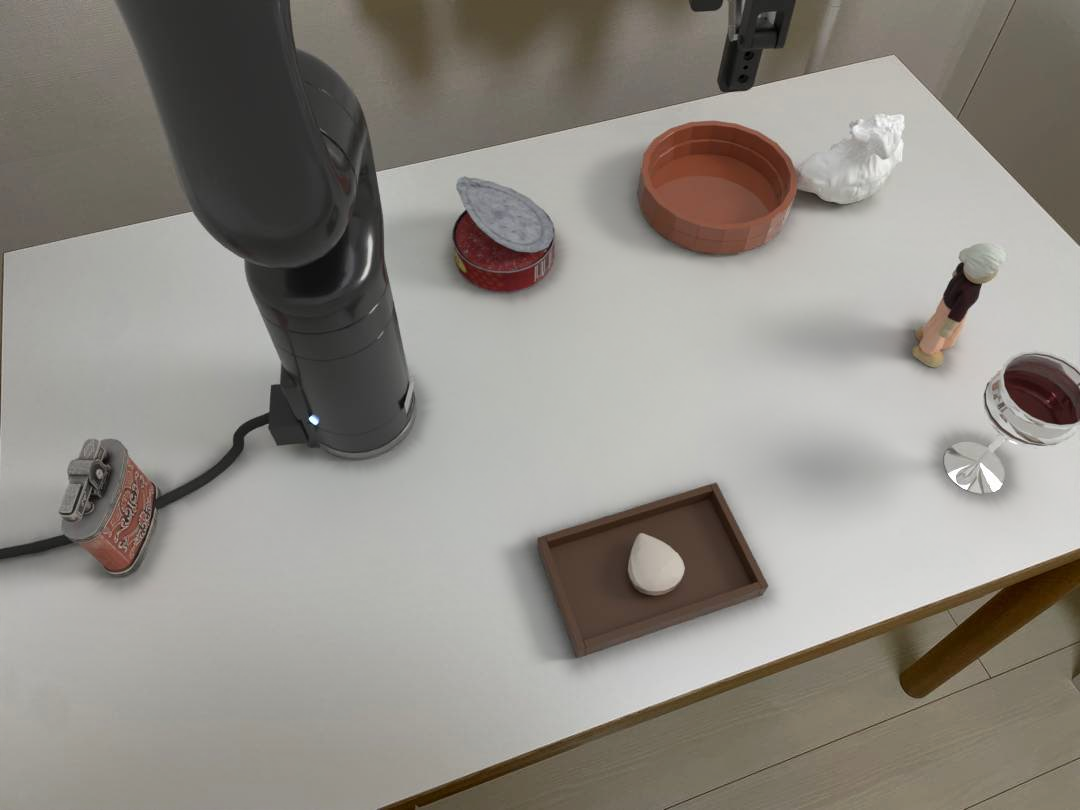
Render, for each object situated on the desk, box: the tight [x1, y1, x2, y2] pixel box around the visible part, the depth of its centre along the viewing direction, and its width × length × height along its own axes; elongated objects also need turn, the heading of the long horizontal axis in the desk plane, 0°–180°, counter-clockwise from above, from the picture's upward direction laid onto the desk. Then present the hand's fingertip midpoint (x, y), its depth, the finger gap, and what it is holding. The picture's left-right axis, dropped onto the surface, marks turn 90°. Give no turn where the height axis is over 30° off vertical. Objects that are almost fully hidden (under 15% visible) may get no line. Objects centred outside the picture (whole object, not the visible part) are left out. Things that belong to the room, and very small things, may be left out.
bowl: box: [636, 120, 798, 255], centre depth 86 cm, size 15×15×4 cm
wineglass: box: [943, 350, 1080, 495], centre depth 66 cm, size 7×7×12 cm
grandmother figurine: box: [911, 242, 1008, 368], centre depth 73 cm, size 8×4×13 cm, turn 168°
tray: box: [536, 482, 769, 659], centre depth 65 cm, size 15×9×2 cm, turn 109°
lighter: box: [57, 437, 162, 579], centre depth 63 cm, size 8×3×10 cm, turn 178°
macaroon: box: [628, 533, 685, 595], centre depth 64 cm, size 4×5×2 cm
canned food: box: [451, 176, 556, 294], centre depth 81 cm, size 11×10×10 cm
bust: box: [795, 112, 906, 205], centre depth 84 cm, size 12×8×11 cm
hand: (718, 47), depth 56 cm, fingers open, 8 cm apart
